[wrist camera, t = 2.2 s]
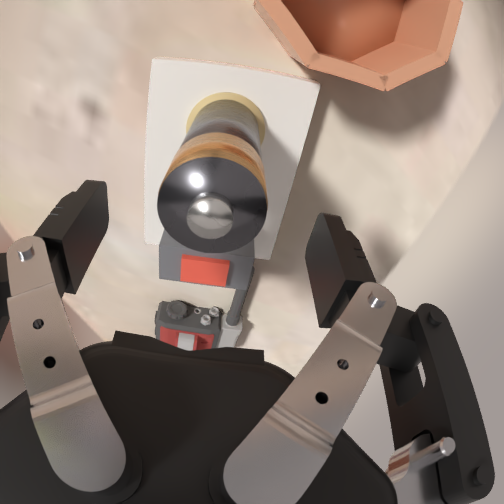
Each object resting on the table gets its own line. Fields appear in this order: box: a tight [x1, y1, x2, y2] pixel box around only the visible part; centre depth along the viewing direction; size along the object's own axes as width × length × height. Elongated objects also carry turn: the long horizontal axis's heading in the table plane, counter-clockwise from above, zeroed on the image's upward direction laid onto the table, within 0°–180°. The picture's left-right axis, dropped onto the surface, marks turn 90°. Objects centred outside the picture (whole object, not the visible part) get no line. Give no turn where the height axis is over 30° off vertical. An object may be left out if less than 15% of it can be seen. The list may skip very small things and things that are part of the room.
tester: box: [144, 57, 321, 290], centre depth 19 cm, size 14×10×6 cm
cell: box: [157, 99, 268, 253], centre depth 15 cm, size 4×4×10 cm
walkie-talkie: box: [155, 267, 254, 351], centre depth 32 cm, size 9×4×20 cm
